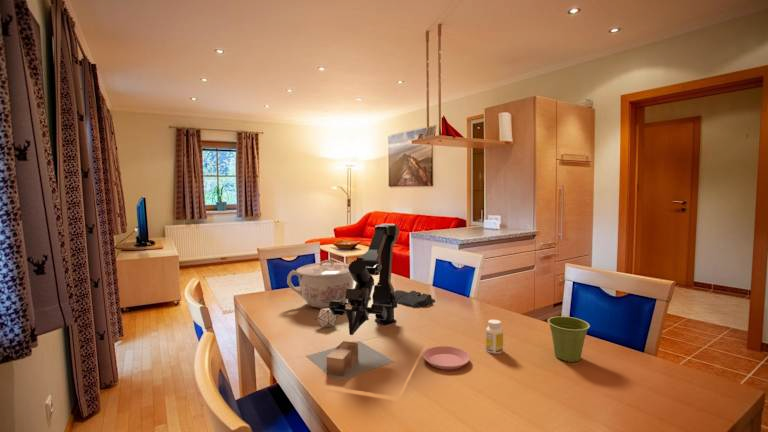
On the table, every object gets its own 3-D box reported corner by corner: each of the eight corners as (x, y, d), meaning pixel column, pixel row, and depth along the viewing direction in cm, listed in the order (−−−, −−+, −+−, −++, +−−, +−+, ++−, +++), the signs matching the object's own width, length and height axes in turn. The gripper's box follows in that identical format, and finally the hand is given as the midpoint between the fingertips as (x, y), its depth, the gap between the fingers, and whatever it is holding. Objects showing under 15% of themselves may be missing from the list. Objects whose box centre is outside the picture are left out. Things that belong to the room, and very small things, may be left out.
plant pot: (538, 353, 124) (539, 319, 123) (565, 347, 129) (566, 314, 128) (569, 369, 113) (570, 331, 113) (597, 361, 118) (598, 325, 117)
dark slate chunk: (402, 294, 196) (402, 284, 196) (438, 302, 181) (438, 292, 181) (381, 300, 186) (381, 290, 185) (417, 310, 170) (417, 299, 170)
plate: (440, 377, 110) (440, 370, 110) (414, 357, 122) (414, 351, 122) (479, 366, 116) (479, 359, 116) (450, 348, 129) (450, 342, 129)
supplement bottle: (503, 348, 128) (503, 319, 128) (502, 355, 123) (503, 325, 123) (486, 346, 130) (486, 318, 129) (485, 353, 125) (485, 323, 124)
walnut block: (343, 340, 121) (326, 357, 110) (358, 342, 120) (342, 359, 108) (343, 356, 122) (326, 374, 110) (358, 358, 120) (342, 376, 109)
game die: (330, 338, 148) (332, 323, 141) (310, 329, 149) (312, 314, 143) (340, 320, 154) (343, 305, 148) (321, 312, 156) (323, 296, 149)
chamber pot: (368, 301, 183) (368, 258, 181) (330, 318, 160) (329, 268, 158) (323, 293, 198) (322, 253, 196) (283, 307, 175) (281, 262, 173)
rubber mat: (359, 343, 134) (359, 340, 134) (394, 364, 118) (394, 361, 118) (305, 358, 122) (305, 356, 122) (336, 384, 106) (336, 381, 106)
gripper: (329, 275, 127) (314, 319, 117) (384, 279, 121) (373, 325, 112) (340, 293, 135) (326, 335, 125) (391, 297, 130) (381, 342, 120)
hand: (350, 334), depth 120 cm, fingers closed
